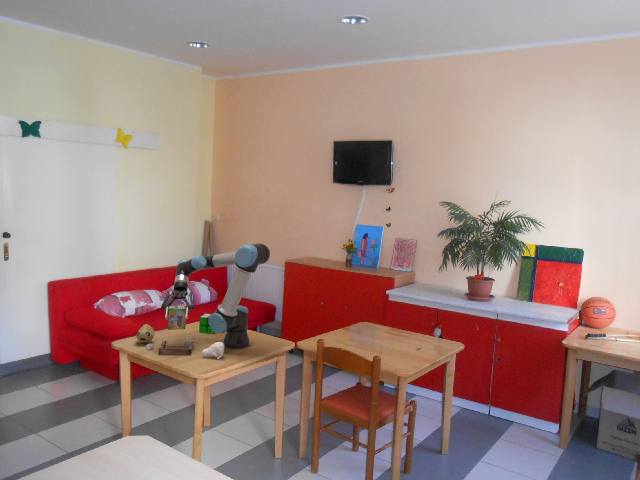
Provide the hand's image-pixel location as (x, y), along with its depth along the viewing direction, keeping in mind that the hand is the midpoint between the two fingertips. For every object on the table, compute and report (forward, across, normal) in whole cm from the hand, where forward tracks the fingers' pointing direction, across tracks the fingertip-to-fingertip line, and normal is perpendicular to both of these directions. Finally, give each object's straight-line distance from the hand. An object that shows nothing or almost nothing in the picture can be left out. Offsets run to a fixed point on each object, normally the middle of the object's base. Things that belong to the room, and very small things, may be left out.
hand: (176, 318), depth 287 cm
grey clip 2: (+2, -5, -25) cm, 26 cm away
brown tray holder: (+11, 0, -15) cm, 19 cm away
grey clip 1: (+10, +14, -17) cm, 24 cm away
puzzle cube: (-18, -15, -46) cm, 51 cm away
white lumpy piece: (+19, -21, -8) cm, 29 cm away
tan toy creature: (+2, +19, -25) cm, 32 cm away
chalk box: (+2, 0, -7) cm, 7 cm away
